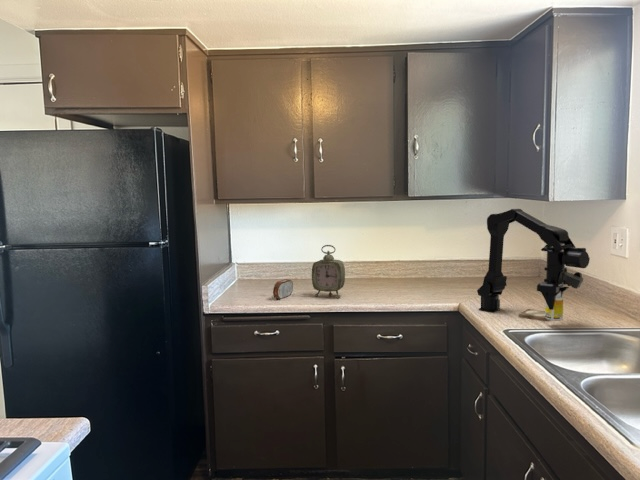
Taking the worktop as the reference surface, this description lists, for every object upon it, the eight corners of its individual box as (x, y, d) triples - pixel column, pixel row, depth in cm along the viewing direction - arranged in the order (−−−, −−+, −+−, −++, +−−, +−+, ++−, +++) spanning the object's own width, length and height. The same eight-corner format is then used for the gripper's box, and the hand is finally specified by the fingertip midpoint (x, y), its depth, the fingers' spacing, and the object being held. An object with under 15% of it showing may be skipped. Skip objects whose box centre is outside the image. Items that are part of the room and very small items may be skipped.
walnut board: (518, 316, 175) (518, 313, 175) (528, 311, 182) (528, 308, 182) (546, 321, 168) (546, 318, 168) (555, 316, 175) (555, 312, 175)
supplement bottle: (564, 318, 161) (565, 290, 160) (559, 322, 157) (560, 293, 156) (547, 316, 165) (548, 288, 164) (542, 319, 161) (543, 291, 160)
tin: (288, 294, 224) (288, 277, 224) (294, 294, 223) (293, 277, 222) (272, 300, 211) (272, 282, 210) (278, 301, 210) (277, 283, 209)
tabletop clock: (312, 298, 214) (310, 245, 212) (318, 293, 223) (317, 243, 221) (341, 299, 210) (340, 246, 208) (346, 295, 219) (345, 244, 216)
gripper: (572, 270, 147) (570, 317, 149) (588, 263, 160) (586, 306, 162) (536, 267, 155) (535, 311, 156) (554, 260, 168) (553, 302, 170)
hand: (554, 308), depth 161 cm, fingers closed on supplement bottle, 6 cm apart
